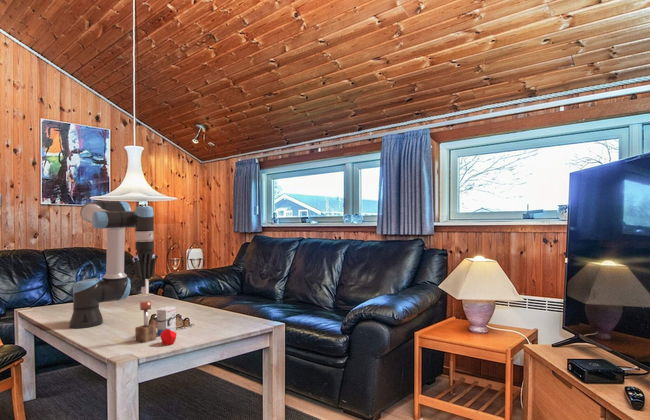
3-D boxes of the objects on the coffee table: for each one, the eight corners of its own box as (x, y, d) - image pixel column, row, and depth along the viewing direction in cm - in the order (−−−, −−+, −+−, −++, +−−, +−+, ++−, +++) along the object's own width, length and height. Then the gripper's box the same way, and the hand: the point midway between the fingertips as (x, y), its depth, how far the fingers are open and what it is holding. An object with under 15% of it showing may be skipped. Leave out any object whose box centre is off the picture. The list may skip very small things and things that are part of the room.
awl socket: (135, 341, 183) (135, 327, 183) (146, 337, 188) (146, 324, 188) (145, 342, 180) (145, 328, 180) (156, 338, 186) (156, 325, 186)
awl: (138, 337, 183) (137, 302, 184) (146, 334, 187) (145, 301, 188) (145, 337, 181) (145, 303, 182) (153, 335, 185) (153, 301, 186)
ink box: (166, 335, 191) (165, 309, 191) (156, 335, 192) (156, 309, 192) (176, 330, 199) (176, 306, 200) (167, 330, 200) (167, 305, 201)
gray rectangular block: (174, 329, 202) (174, 328, 202) (188, 324, 212) (188, 323, 212) (180, 329, 201) (180, 329, 201) (194, 324, 210) (194, 324, 210)
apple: (179, 331, 176) (172, 322, 182) (162, 337, 172) (156, 327, 178) (180, 344, 179) (174, 334, 185) (164, 351, 175) (158, 340, 181)
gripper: (138, 241, 178) (139, 297, 178) (162, 240, 190) (162, 291, 190) (126, 241, 181) (126, 295, 181) (149, 240, 193) (150, 290, 193)
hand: (145, 293), depth 185 cm, fingers closed
